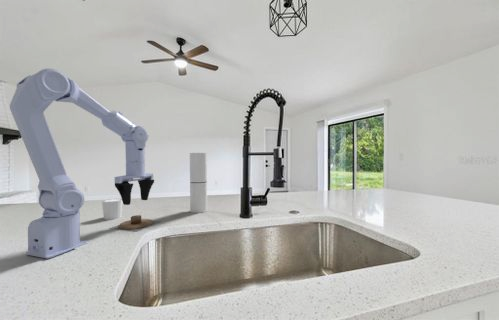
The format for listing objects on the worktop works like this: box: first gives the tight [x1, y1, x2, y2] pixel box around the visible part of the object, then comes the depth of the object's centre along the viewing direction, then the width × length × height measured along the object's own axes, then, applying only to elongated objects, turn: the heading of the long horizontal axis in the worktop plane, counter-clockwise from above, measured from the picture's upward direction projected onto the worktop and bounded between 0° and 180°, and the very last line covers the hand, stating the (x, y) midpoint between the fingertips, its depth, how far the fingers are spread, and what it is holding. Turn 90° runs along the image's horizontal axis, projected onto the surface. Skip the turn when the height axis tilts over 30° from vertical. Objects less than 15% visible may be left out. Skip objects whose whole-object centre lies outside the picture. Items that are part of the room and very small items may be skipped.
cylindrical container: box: [189, 152, 208, 214], centre depth 94 cm, size 7×7×25 cm
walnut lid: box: [118, 214, 153, 231], centre depth 74 cm, size 10×10×3 cm
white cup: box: [101, 198, 124, 221], centre depth 84 cm, size 7×7×7 cm
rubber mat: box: [109, 220, 161, 233], centre depth 74 cm, size 11×11×1 cm
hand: (136, 202), depth 74 cm, fingers open, 7 cm apart
